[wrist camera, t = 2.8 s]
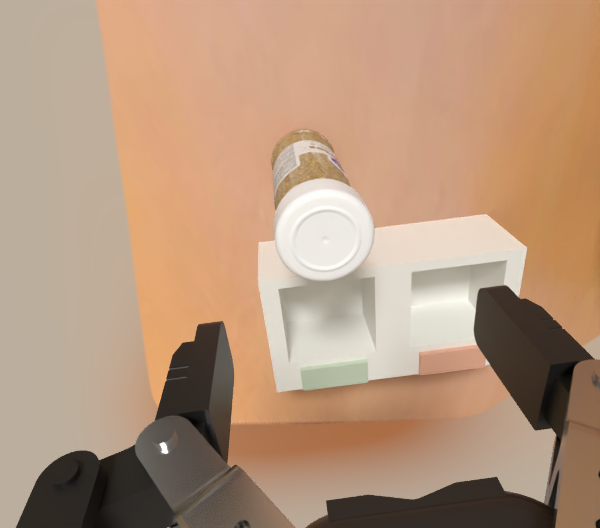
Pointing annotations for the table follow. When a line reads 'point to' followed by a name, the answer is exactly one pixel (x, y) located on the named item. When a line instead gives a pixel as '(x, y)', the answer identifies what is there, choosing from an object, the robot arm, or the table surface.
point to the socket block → (388, 305)
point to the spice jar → (317, 210)
